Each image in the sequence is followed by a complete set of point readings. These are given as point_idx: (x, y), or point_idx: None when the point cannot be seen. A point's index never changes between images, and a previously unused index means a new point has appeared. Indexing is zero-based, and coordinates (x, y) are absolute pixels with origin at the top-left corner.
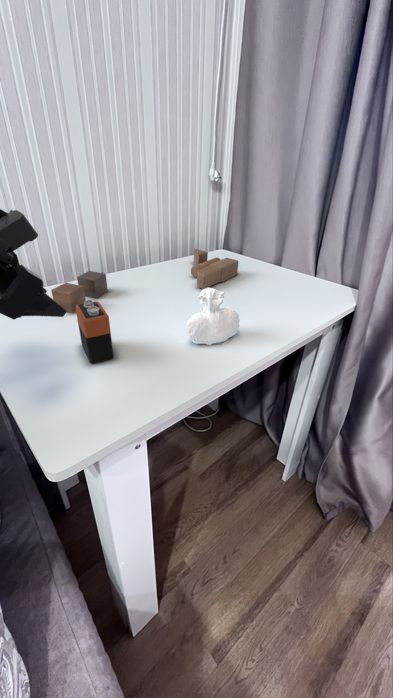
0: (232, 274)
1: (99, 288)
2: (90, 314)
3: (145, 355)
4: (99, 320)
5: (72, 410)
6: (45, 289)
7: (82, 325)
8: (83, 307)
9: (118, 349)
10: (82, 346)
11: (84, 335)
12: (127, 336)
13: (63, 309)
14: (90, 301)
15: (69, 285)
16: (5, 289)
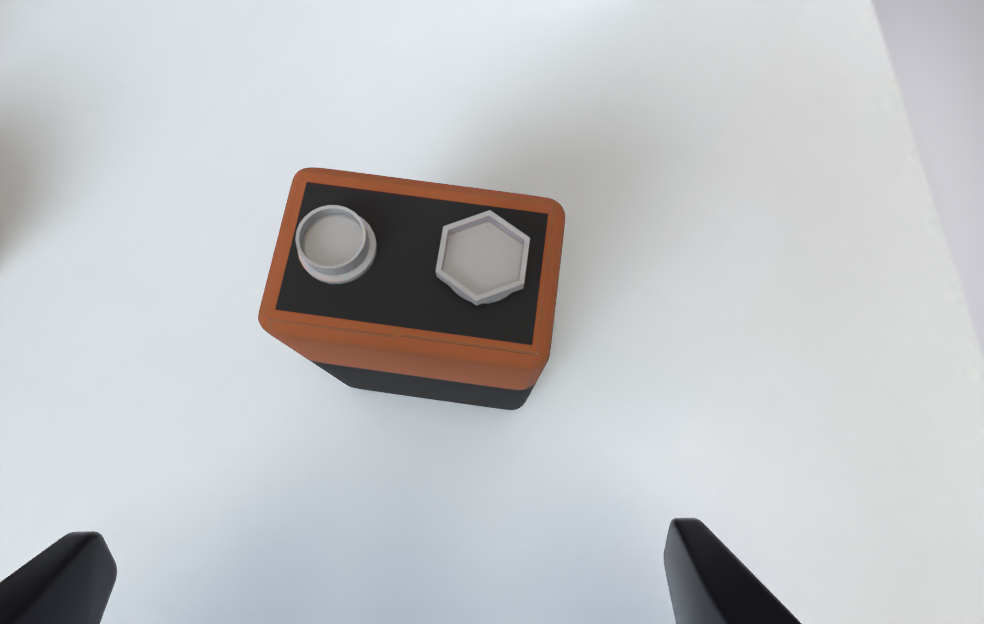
0: None
1: None
2: (502, 296)
3: (580, 175)
4: (558, 269)
5: (800, 609)
6: (76, 544)
7: (476, 374)
8: (345, 292)
9: None
10: (365, 389)
11: (490, 387)
12: (383, 165)
13: (732, 554)
14: (312, 216)
15: None
16: None
